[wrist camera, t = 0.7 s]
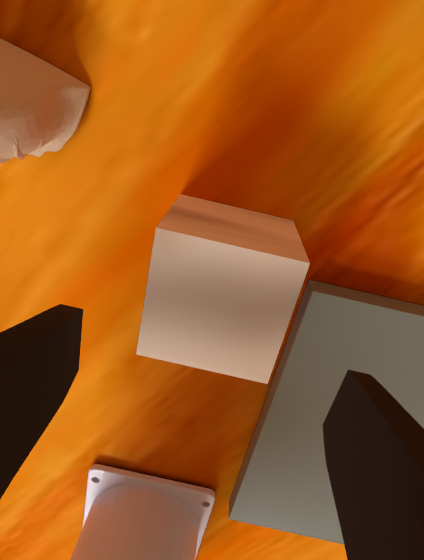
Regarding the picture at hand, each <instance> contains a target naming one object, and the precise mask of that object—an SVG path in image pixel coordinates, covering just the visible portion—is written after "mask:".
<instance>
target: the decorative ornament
mask: <svg viewBox="0 0 424 560" xmlns="http://www.w3.org/2000/svg"><path fill="white" fill-rule="evenodd" d="M90 89H91V87H90V86H88V85H86V84H85V83H83V82H81V81H80V80H78V79H76V78H75V77H73V76H71V75H69V74H68V73H66V72H64V71H62V70H60V69H58V68H57V67H55V66H53V65H51V64H49V63H47V62H45V61H44V60H42V59H40V58H38V57H36V56H34V55H32V54H30V53H28V52H26V51H24V50H22V49H20V48H18V47H16V46H14V45H12V44H11V43H9V42H7V41H5V40H3V39H1V38H0V163H5V162H7V161H8V160H9V159H10V158H15V157H17V158H18V159H24V158H25V156H26V155H27V154H31V155H34V156H37V157H40V156H41V155H42V154H44V153H45V152H46V151H53V152H56V151H59V150H60V149H61V148H62V147H63V146H64V145H65V143H66V142H67V141H68V140H69V139H70V138H71V137H72V136H73V135H74V133H75V131H76V129H77V128H78V126H79V124H80V121H81V118H82V115H83V112H84V109H85V106H86V103H87V101H88V97H89V93H90Z"/></svg>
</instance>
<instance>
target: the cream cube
mask: <svg viewBox="0 0 424 560" xmlns="http://www.w3.org/2000/svg"><path fill="white" fill-rule="evenodd" d="M309 265H310V262H309V259H308V257H307V254H306V252H305V249H304V246H303V244H302V241H301V239H300V236H299V234H298V231H297V229H296V226H295V223H294V221H293V220H290V219H286V218H281V217H277V216H273V215H268V214H264V213H260V212H256V211H251V210H247V209H243V208H238V207H234V206H230V205H226V204H221V203H217V202H213V201H208V200H204V199H200V198H196V197H191V196H187V195H183V194H180V195H179V197H178V198H177V199H176V201H175V202H174V204H173V205H172V206H171V208H170V209H169V210H168V212H167V213H166V214H165V216H164V217H163V219H162V220H161V221H160V223H159V224H158V225H157V227H156V230H155V237H154V243H153V250H152V256H151V262H150V269H149V275H148V281H147V288H146V294H145V300H144V307H143V313H142V320H141V326H140V332H139V339H138V345H137V351H136V354H137V355H141V356H146V357H150V358H154V359H159V360H163V361H168V362H172V363H176V364H181V365H185V366H190V367H194V368H198V369H203V370H207V371H212V372H216V373H220V374H225V375H229V376H234V377H238V378H242V379H247V380H251V381H256V382H260V383H264V384H268V381H269V378H270V375H271V373H272V370H273V367H274V364H275V361H276V358H277V356H278V353H279V350H280V347H281V344H282V341H283V339H284V336H285V333H286V330H287V327H288V324H289V322H290V319H291V316H292V313H293V310H294V308H295V305H296V302H297V299H298V296H299V293H300V291H301V288H302V285H303V282H304V279H305V276H306V274H307V271H308V268H309Z"/></svg>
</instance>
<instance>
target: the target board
mask: <svg viewBox="0 0 424 560" xmlns="http://www.w3.org/2000/svg"><path fill="white" fill-rule="evenodd" d="M348 370H353V371H357V372H362V373H366V374H370V375H372V376H373V377H374V378H375V379H376V380H377V381H378V382H379V383H380V384H381V385H382V386H383V387H384V388H385V389H386V390H387V391H388V392H389V393H390V394H391V395H392V396H393V397H394V398H395V399H396V400H397V401H398V402H399V403H400V404H401V405H402V407H403V408H404V409H405V410H406V411H407V412H408V413H409V414H410V415H411V416H412V417H413V418H414V419H415V420H416V421H417V422H418V423H419V424H420V425H421V426H422V427H423V428H424V306H422V305H418V304H413V303H409V302H405V301H400V300H396V299H392V298H387V297H383V296H379V295H374V294H370V293H366V292H361V291H357V290H353V289H348V288H344V287H340V286H335V285H331V284H327V283H322V282H318V281H314V280H308V283H307V286H306V289H305V291H304V294H303V297H302V300H301V303H300V305H299V308H298V311H297V314H296V317H295V319H294V322H293V325H292V328H291V330H290V333H289V336H288V339H287V342H286V344H285V347H284V350H283V353H282V356H281V358H280V361H279V364H278V367H277V369H276V372H275V375H274V378H273V381H272V383H271V386H270V389H269V392H268V395H267V397H266V400H265V403H264V406H263V408H262V411H261V414H260V417H259V420H258V422H257V425H256V428H255V431H254V434H253V436H252V439H251V442H250V445H249V447H248V450H247V453H246V456H245V459H244V461H243V464H242V467H241V470H240V473H239V475H238V478H237V481H236V484H235V486H234V489H233V492H232V495H231V498H230V500H229V519H231V520H236V521H240V522H245V523H249V524H254V525H258V526H263V527H267V528H272V529H277V530H281V531H286V532H290V533H295V534H299V535H304V536H308V537H313V538H317V539H322V540H327V541H331V542H336V543H340V544H344V540H343V536H342V532H341V527H340V523H339V519H338V514H337V510H336V505H335V501H334V497H333V492H332V488H331V483H330V479H329V474H328V470H327V465H326V459H325V449H324V438H323V423H324V421H325V418H326V416H327V414H328V412H329V410H330V408H331V405H332V403H333V401H334V399H335V397H336V395H337V392H338V390H339V388H340V386H341V384H342V382H343V379H344V377H345V375H346V373H347V371H348Z"/></svg>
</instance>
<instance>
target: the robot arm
mask: <svg viewBox="0 0 424 560" xmlns="http://www.w3.org/2000/svg"><path fill="white" fill-rule="evenodd" d="M82 317H83V309H80V308H76V307H71V306H67V305H62V304H60V305H57V306H55V307H53V308H51V309H48V310H46V311H44V312H42V313H40V314H38V315H36V316H34V317H32V318H30V319H28V320H26V321H24V322H22V323H20V324H18V325H15V326H13V327H11V328H9V329H7V330H5V331H3V332H1V333H0V499H1V497H2V496H3V494H4V492H5V491H6V489H7V487H8V486H9V484H10V482H11V481H12V479H13V478H14V476H15V474H16V473H17V471H18V470H19V468H20V467H21V465H22V464H23V462H24V461H25V459H26V458H27V456H28V455H29V453H30V452H31V450H32V449H33V447H34V446H35V444H36V443H37V441H38V440H39V438H40V437H41V435H42V434H43V432H44V431H45V429H46V428H47V426H48V424H49V423H50V421H51V420H52V418H53V417H54V415H55V414H56V412H57V411H58V409H59V407H60V406H61V404H62V403H63V401H64V399H65V397H66V395H67V393H68V391H69V389H70V387H71V385H72V383H73V380H74V378H75V376H76V374H77V372H78V370H79V357H80V343H81V330H82ZM323 438H324V449H325V459H326V465H327V470H328V474H329V479H330V483H331V488H332V492H333V497H334V501H335V505H336V510H337V514H338V519H339V523H340V527H341V532H342V536H343V540H344V545H345V549H346V554H347V559H348V560H424V428H423V427H422V426H421V425H420V424H419V423H418V422H417V421H416V420H415V419H414V418H413V417H412V416H411V415H410V414H409V413H408V412H407V411H406V410H405V409H404V408H403V407H402V405H401V404H400V403H399V402H398V401H397V400H396V399H395V398H394V397H393V396H392V395H391V394H390V393H389V392H388V391H387V390H386V389H385V388H384V387H383V386H382V385H381V384H380V383H379V382H378V381H377V380H376V379H375V378H374V377H373V376H372V375H370V374H366V373H362V372H357V371H353V370H348V371H347V373H346V375H345V377H344V379H343V382H342V384H341V386H340V388H339V390H338V392H337V395H336V397H335V399H334V401H333V403H332V405H331V408H330V410H329V412H328V414H327V416H326V418H325V421H324V423H323ZM215 496H216V493H215V492H214V491H213V490H212V489H209V488H204V487H200V486H195V485H191V484H186V483H182V482H177V481H173V480H168V479H164V478H159V477H154V476H150V475H145V474H141V473H136V472H132V471H127V470H123V469H118V468H114V467H109V466H105V465H100V464H94V465H92V466H91V468H90V470H89V472H88V481H87V491H86V500H85V509H84V519H83V528H82V531H81V534H80V537H79V539H78V542H77V544H76V547H75V550H74V552H73V555H72V557H71V560H195V559H196V556H197V553H198V550H199V547H200V544H201V541H202V538H203V535H204V532H205V529H206V526H207V523H208V520H209V517H210V514H211V511H212V508H213V505H214V502H215Z"/></svg>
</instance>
